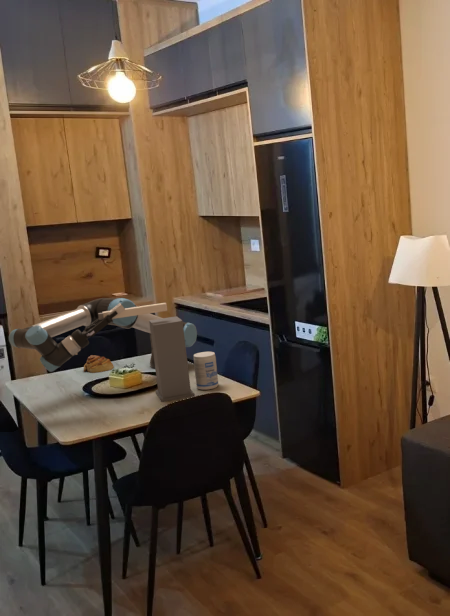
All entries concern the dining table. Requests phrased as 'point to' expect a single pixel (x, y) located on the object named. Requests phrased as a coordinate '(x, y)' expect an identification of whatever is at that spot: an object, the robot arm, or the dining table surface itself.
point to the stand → (170, 359)
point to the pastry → (97, 364)
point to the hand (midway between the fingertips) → (122, 306)
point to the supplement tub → (205, 370)
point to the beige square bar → (137, 310)
